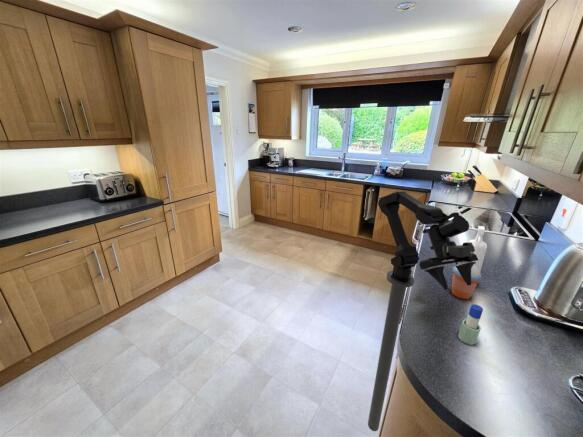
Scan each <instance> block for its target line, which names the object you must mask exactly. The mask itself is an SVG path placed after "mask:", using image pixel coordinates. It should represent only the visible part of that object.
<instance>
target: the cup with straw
mask: <svg viewBox="0 0 583 437" xmlns="http://www.w3.org/2000/svg"><path fill="white" fill-rule="evenodd" d="M456 266H458V265H457V264H456V265H455V266H453V268H452V272H453V275H452V284H451V286H452V287H451V293H452V295H454V296H455V297H456V298H459V299H461V300H469V299H470V298H471V296H472V294H473V293H474V292H475V290H476V287H477V286H476V285H478V283H479V281H480V280H482V277H483V276H482V273H481V271H479V269H478V268H477V267H476V266H475V265H473V266H472V268H471V285H469V286H468V285H467V284H466V282H465V281H464V279H463V278H462V276H461V274H460V273H459V271H458V270H457V268H456Z"/></svg>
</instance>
